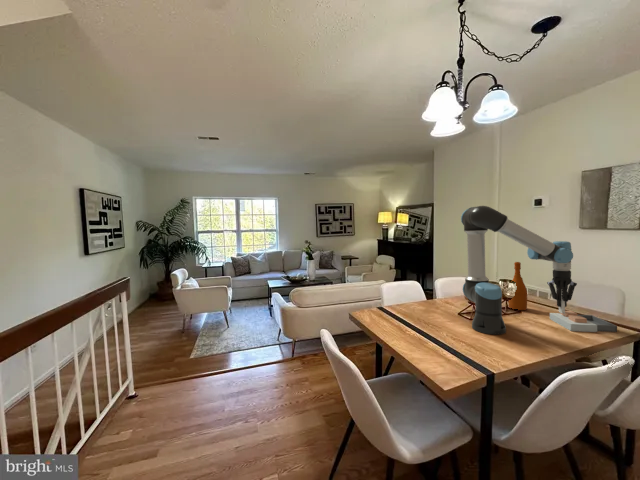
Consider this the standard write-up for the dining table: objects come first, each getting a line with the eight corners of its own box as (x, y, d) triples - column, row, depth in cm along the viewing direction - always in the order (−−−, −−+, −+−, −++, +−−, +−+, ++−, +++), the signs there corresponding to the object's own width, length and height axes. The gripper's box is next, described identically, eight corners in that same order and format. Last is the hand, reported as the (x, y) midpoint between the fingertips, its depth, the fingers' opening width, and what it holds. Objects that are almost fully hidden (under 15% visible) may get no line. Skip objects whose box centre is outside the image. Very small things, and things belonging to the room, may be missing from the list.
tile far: (566, 316, 147) (566, 313, 147) (560, 314, 152) (560, 310, 152) (577, 317, 146) (577, 313, 146) (571, 314, 151) (571, 310, 151)
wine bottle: (530, 311, 169) (530, 262, 168) (512, 310, 171) (512, 263, 170) (522, 306, 179) (522, 260, 177) (505, 306, 181) (505, 261, 179)
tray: (596, 331, 136) (596, 325, 136) (573, 319, 152) (573, 314, 152) (617, 331, 134) (617, 325, 134) (592, 320, 150) (592, 315, 150)
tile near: (575, 322, 139) (575, 318, 139) (568, 319, 144) (568, 315, 144) (586, 322, 138) (586, 318, 138) (579, 319, 143) (579, 315, 143)
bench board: (570, 330, 137) (570, 324, 137) (549, 318, 155) (549, 312, 154) (597, 332, 134) (597, 325, 134) (572, 319, 152) (572, 313, 152)
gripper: (551, 270, 146) (551, 314, 147) (580, 270, 143) (580, 315, 144) (543, 268, 154) (544, 310, 155) (571, 268, 151) (571, 310, 152)
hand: (561, 312), depth 150 cm, fingers closed
